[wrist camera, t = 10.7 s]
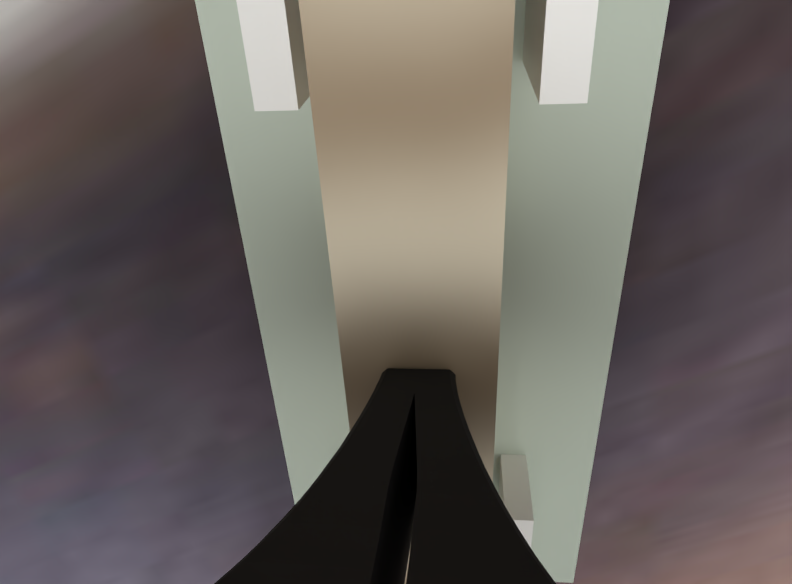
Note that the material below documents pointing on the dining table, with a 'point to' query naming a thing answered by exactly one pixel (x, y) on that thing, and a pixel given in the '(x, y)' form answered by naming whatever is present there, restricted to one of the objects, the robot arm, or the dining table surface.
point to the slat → (414, 188)
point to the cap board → (522, 259)
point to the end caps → (547, 70)
